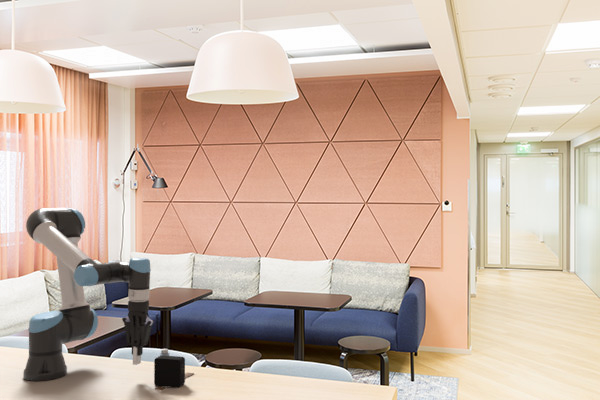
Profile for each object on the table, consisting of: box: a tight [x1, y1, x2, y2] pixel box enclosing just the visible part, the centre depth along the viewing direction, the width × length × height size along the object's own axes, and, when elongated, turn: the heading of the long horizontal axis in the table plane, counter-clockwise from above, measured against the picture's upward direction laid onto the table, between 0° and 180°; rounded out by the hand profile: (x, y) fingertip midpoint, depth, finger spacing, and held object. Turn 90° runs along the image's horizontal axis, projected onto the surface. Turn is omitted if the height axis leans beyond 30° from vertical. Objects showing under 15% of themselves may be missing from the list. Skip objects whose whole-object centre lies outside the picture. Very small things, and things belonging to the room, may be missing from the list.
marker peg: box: [159, 348, 170, 356], centre depth 216 cm, size 4×4×9 cm
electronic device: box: [153, 355, 186, 389], centre depth 200 cm, size 4×10×10 cm, turn 77°
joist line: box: [154, 372, 195, 391], centre depth 205 cm, size 3×20×1 cm, turn 158°
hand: (136, 363), depth 206 cm, fingers closed
